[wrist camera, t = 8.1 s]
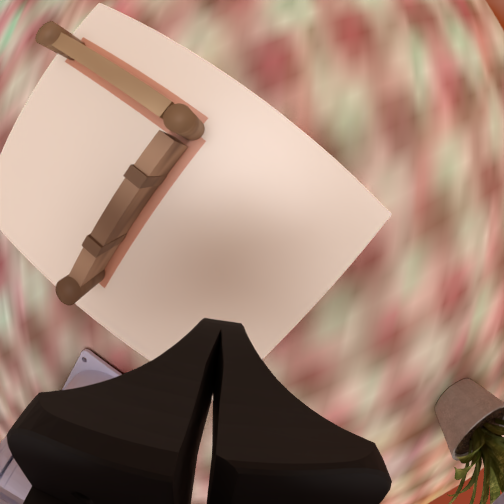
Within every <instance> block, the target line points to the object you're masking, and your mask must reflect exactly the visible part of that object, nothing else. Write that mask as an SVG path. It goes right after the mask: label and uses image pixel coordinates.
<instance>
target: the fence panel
mask: <svg viewBox="0 0 504 504" xmlns="http://www.w3.org/2000/svg"><path fill="white" fill-rule="evenodd" d="M187 148H188V146H186V145H185V144H184V143H183V142H181V141H180V140H179V139H177V138H176V137H174V136H172V135H170V134H167V133H165V132H163V131H161V130H159V131H158V132H157V134H156V135H155V136H154V138H153V139H152V140H151V142H150V143H149V144H148V146H147V147H146V148H145V150H144V151H143V153H142V154H141V155H140V157H139V158H138V160H137V161H136V163H135V164H131V165H130V166H129V168H128V169H127V171H126V172H125V174H124V175H123V176H124V177H125V179H124V180H123V182H122V183H121V185H120V186H119V188H118V189H117V191H116V192H115V194H114V196H113V197H112V199H111V200H110V202H109V204H108V205H107V207H106V208H105V210H104V212H103V213H102V215H101V217H100V218H99V220H98V222H97V224H96V225H95V227H94V229H93V230H92V232H91V234H89V235H87V236H86V238H85V240H84V241H83V243H82V245H81V246H83V249H82V250H81V252H80V254H79V256H78V258H77V260H76V262H75V264H74V266H73V268H72V270H71V272H70V274H69V275H67V276H65V277H64V278H62V279H61V280H59V281H58V282H57V284H56V294H57V296H58V298H59V299H60V301H61V302H63V303H64V304H66V305H73V304H74V303H75V302H77V301H78V300H79V299H80V298H81V297H83V296H84V295H85V294H86V293H87V292H89V291H90V290H91V289H92V288H93V287H95V286H96V285H97V284H98V283H100V282H101V281H102V280H103V279H104V277H105V267H106V266H107V264H108V262H109V261H110V259H111V257H112V256H113V254H114V252H115V251H116V249H117V248H118V246H119V244H120V243H121V242H122V241H123V240H124V238H125V236H126V235H127V232H128V230H129V229H130V227H131V226H132V224H133V223H134V221H135V220H136V218H137V217H138V215H139V214H140V212H141V211H142V209H143V208H144V206H145V205H146V204H147V202H148V201H149V199H150V198H151V196H152V195H153V194H154V192H155V191H156V189H157V188H158V187H159V185H161V184H162V182H163V181H164V180H165V178H166V177H167V174H168V173H169V172H170V170H171V169H172V168H173V166H174V165H175V164H176V162H177V161H178V160H179V158H180V157H181V156H182V154H183V153H184V152H185V151H186V149H187Z"/></svg>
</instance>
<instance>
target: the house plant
mask: <svg viewBox="0 0 504 504" xmlns="http://www.w3.org/2000/svg"><path fill="white" fill-rule="evenodd" d="M435 413H436V415H437V418H438V420H439V423H440V426H441V428H442V431H443V433H444V436H445V439H446V441H447V444H448V447H449V450H450V452H451V455H452V458H453V459H454V460H460V461H461V463H466V466H465V468H464V469H457V468H456V467H454V468H455V479H456V480H459V479H461V478H462V479H461V482H460V485H459V487H458V489H457V491H456V493H455V494H454V495H449V496H454V497H453V499H452V500H451V502H450V503H449V504H451V503H452V502H453V501H454V500H455V499H456V497H457V496H458V494H459V493H462V492H465V491H466V490H468V489H469V488H470V487H471V486H472V485H473V484H474V483H475V484H474V489H473V494H472V498H471V501H470V504H473V502H474V498H475V493H476V487H477V480H478V475H479V472H480V468H481V464H482V460H483V463H484V482H483V491H482V497H481V501H480V504H486V502H487V499H488V495H489V484H490V504H492V503H493V502H494V501H495V500H496V499H497V498H498V497H499V496H500V490H501V491H502V493H503V492H504V437H502V436H501V435H504V402H502V401H501V400H500V399H498V398H497V397H495V396H494V395H493V394H491V393H490V392H488V391H487V390H485V389H484V388H483V387H481V386H480V385H478V384H477V383H476V382H474V381H473V380H471V379H469V378H468V379H463V380H460V381H458V382H457V383H455V384H453V385H452V386H450V387H449V388H448V389H447V390H446V391H445V392H444V393H443V394H442V395H441V397H440V398H439V400H438V402H437V404H436V406H435ZM471 460H472V463H471V466H469V462H470V461H471ZM475 463H476V467H475V470H474V473H473V476H472V478H471V480H470V482H469V484H468V485H467V486H466V487H465V488H464V489H463V490H462V491H461V489H462V486H463V484H464V481H465V478H466V474H467V472H468V471H469V470H470V468H471V467H472V466H473V465H474V464H475ZM468 466H469V467H468ZM460 491H461V492H460Z"/></svg>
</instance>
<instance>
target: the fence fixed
mask: <svg viewBox="0 0 504 504" xmlns="http://www.w3.org/2000/svg"><path fill="white" fill-rule="evenodd" d="M36 42H37V43H39V44H41V45H43V46H44V47H46V48H48V49H50V50H52V51H54V52H56V53H58V54H60V55H62V56H63V57H65V58H67V59H69V60H72V61H73V60H76V61H77V62H79V63H81V64H82V65H84V66H85V67H87V68H88V69H90V70H91V71H93V72H94V73H96V74H98V75H99V76H101V77H102V78H104V79H105V80H107V81H108V82H110V83H111V84H112V85H114V86H115V87H117V88H118V89H120V90H121V91H123V92H124V93H126V94H127V95H129V96H130V97H132V98H133V99H134V100H136V101H137V102H139V103H140V104H142V105H143V106H144V107H146V108H147V109H149V110H150V111H152V112H153V113H154V114H156V115H157V116H159V117H160V118H162V119H163V122H164V125H165V127H166V128H167V129H169V130H170V131H172V132H174V133H176V134H178V135H180V136H182V137H184V138H186V139H187V140H191V141H194V140H197V139H199V138H200V137H202V135H203V134H204V130H205V127H204V124H203V122H202V121H201V120H200V119H199V118H198V117H197V116H196V115H195V114H194V113H193V112H192V111H191V109H190V108H189V107H188V106H186V105H184V104H180V103H178V104H174V103H173V102H172V101H171V100H169V99H168V98H166V97H165V96H163V95H162V94H160V93H159V92H158V91H156V90H155V89H153V88H152V87H150V86H149V85H147V84H146V83H144V82H143V81H141V80H140V79H138V78H136V77H135V76H133V75H132V74H130V73H129V72H127V71H126V70H124V69H122V68H121V67H119V66H118V65H116V64H115V63H113V62H111V61H110V60H108V59H106V58H105V57H103V56H102V55H100V54H98V53H97V52H95V51H93V50H92V49H90V48H88V47H86V46H85V43H84V42H82V41H81V40H80V39H78V38H77V37H75V36H74V35H72V34H71V33H69V32H68V31H66V30H65V29H64V28H62V27H61V26H59V25H58V24H56V23H55V22H53V21H50V22H47V23H45V24H44V25H43V26H42V27H41V28H40V29H39V30H38V32H37V34H36Z"/></svg>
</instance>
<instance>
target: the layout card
mask: <svg viewBox="0 0 504 504" xmlns="http://www.w3.org/2000/svg"><path fill="white" fill-rule="evenodd" d="M72 35H74V36H75V37H77V38H78V39H80V40H81V41H82V42H84V43H85V46H86V47H88V48H90V49H92V50H93V51H95V52H97V53H98V54H100V55H102V56H103V57H105V58H106V59H108V60H110V61H111V62H113V63H115V64H116V65H118V66H119V67H121V68H122V69H124V70H126V71H127V72H129V73H130V74H132V75H133V76H135V77H136V78H138V79H140V80H141V81H143V82H144V83H146V84H147V85H149V86H150V87H152V88H153V89H155V90H156V91H158V92H159V93H160V94H162V95H163V96H165V97H166V98H168V99H169V100H171V101H172V102H173V103H174V104H178V103H180V104H184V105H186V106H188V107H189V108H190V109H191V111H192V112H193V113H194V114H195V115H196V116H197V117H198V118H199V119H200V120H201V121H202V122H203V124H204V127H205V130H204V134H203V135H202V137H200V138H199V139H197V140H194V141H191V140H187V139H186V138H184V137H182V136H180V135H178V134H176V133H174V132H172V131H170V130H169V129H167V128H166V127H165V125H164V122H163V119H162V118H160V117H159V116H157V115H156V114H154V113H153V112H152V111H150V110H149V109H147V108H146V107H144V106H143V105H142V104H140V103H139V102H137V101H136V100H134V99H133V98H132V97H130V96H129V95H127V94H126V93H124V92H123V91H121V90H120V89H118V88H117V87H115V86H114V85H112V84H111V83H110V82H108V81H107V80H105V79H104V78H102V77H101V76H99V75H98V74H96V73H94V72H93V71H91V70H90V69H88V68H87V67H85V66H84V65H82V64H81V63H79V62H77V61H76V60H73V61H72V60H69V59H67V58H65V57H63V56H62V55H60V54H57V55H56V56H55V58H54V59H53V61H52V62H51V64H50V65H49V67H48V68H47V70H46V71H45V73H44V74H43V76H42V77H41V79H40V80H39V82H38V84H37V85H36V87H35V88H34V90H33V92H32V93H31V95H30V97H29V99H28V100H27V102H26V104H25V106H24V107H23V109H22V111H21V113H20V115H19V117H18V119H17V121H16V123H15V124H14V126H13V128H12V130H11V133H10V135H9V137H8V139H7V141H6V143H5V145H4V148H3V150H2V152H1V154H0V230H1V231H2V233H3V234H4V235H5V236H6V237H7V238H8V239H9V240H10V241H11V242H12V243H13V245H14V246H15V247H16V248H17V249H18V250H19V251H20V252H21V253H22V254H23V255H24V256H25V257H26V258H27V259H28V260H29V261H30V262H31V263H32V264H33V265H34V266H35V267H36V268H37V269H38V270H39V271H40V272H41V273H42V274H43V275H44V276H45V277H46V278H47V279H48V280H49V281H51V282H52V283H53V284H54V285H55V286H56V284H57V282H58V281H59V280H61V279H62V278H64V277H65V276H67V275H69V274H70V272H71V270H72V268H73V266H74V264H75V262H76V260H77V258H78V256H79V254H80V252H81V250H82V249H83V246H81V245H82V243H83V241H84V240H85V238H86V236H87V235H89V234H91V232H92V230H93V229H94V227H95V225H96V224H97V222H98V220H99V218H100V217H101V215H102V213H103V212H104V210H105V208H106V207H107V205H108V204H109V202H110V200H111V199H112V197H113V196H114V194H115V192H116V191H117V189H118V188H119V186H120V185H121V183H122V182H123V180H124V179H125V177H124V176H123V175H124V174H125V172H126V171H127V169H128V168H129V166H130V165H131V164H135V163H136V161H137V160H138V158H139V157H140V155H141V154H142V153H143V151H144V150H145V148H146V147H147V146H148V144H149V143H150V142H151V140H152V139H153V138H154V136H155V135H156V134H157V132H158V131H159V130H161V131H163V132H165V133H167V134H170V135H172V136H174V137H176V138H177V139H179V140H180V141H181V142H183V143H184V144H185V145H186V146H188V148H187V149H186V151H185V152H184V153H183V154H182V156H181V157H180V158H179V160H178V161H177V162H176V164H175V165H174V166H173V168H172V169H171V170H170V172H169V173H168V174H167V177H166V178H165V180H164V181H163V182H162V184H161V185H159V187H158V188H157V189H156V191H155V192H154V194H153V195H152V196H151V198H150V199H149V201H148V202H147V204H146V205H145V206H144V208H143V209H142V211H141V212H140V214H139V215H138V217H137V218H136V220H135V221H134V223H133V224H132V226H131V227H130V229H129V230H128V232H127V235H126V236H125V238H124V240H123V241H122V242H121V243H120V244H119V246H118V248H117V249H116V251H115V252H114V254H113V256H112V257H111V259H110V261H109V262H108V264H107V266H106V267H105V277H104V279H103V280H102V281H101V282H100V283H98V284H97V285H96V286H95V287H93V288H92V289H91V290H90V291H89V292H87V293H86V294H85V295H84V296H83V297H81V298H80V299H79V300H78V301H77V302H75V304H76V305H77V306H79V307H80V308H81V309H82V310H83V311H85V312H86V313H87V314H88V315H89V316H91V317H92V318H93V319H94V320H96V321H97V322H98V323H99V324H101V325H102V326H103V327H104V328H106V329H107V330H108V331H109V332H111V333H112V334H113V335H115V336H116V337H117V338H119V339H120V340H121V341H123V342H124V343H125V344H127V345H128V346H129V347H131V348H132V349H134V350H135V351H136V352H138V353H139V354H141V355H142V356H143V357H145V358H146V359H148V360H149V361H152V360H153V359H155V358H157V357H158V356H160V355H161V354H162V353H164V352H165V351H167V350H168V349H169V348H171V347H172V346H173V345H175V344H176V343H177V342H178V341H180V340H181V339H182V338H183V337H184V336H185V335H187V334H188V333H189V332H190V331H191V330H192V329H193V328H194V327H195V326H196V325H197V324H198V323H199V322H200V321H201V320H202V319H203V318H209V319H215V320H222V321H229V322H236V323H242V325H243V326H244V328H245V331H246V333H247V335H248V337H249V339H250V341H251V343H252V345H253V346H254V348H255V350H256V351H257V353H258V354H259V356H260V358H261V359H263V358H264V357H265V356H266V355H267V354H268V353H269V352H270V351H271V350H272V349H273V348H274V347H275V346H276V345H277V344H278V343H279V342H280V341H281V340H282V339H283V338H284V337H285V336H286V335H287V334H288V333H289V332H290V331H291V330H292V329H293V328H294V327H295V326H296V325H297V324H298V323H299V322H300V321H301V319H302V318H303V317H304V316H305V315H306V314H307V313H308V312H309V311H310V310H311V309H312V308H313V307H314V305H315V304H316V303H317V302H318V301H319V300H320V299H321V298H322V297H323V296H324V295H325V293H326V292H327V291H328V290H329V289H330V288H331V287H332V286H333V284H334V283H335V282H336V281H337V280H338V279H339V278H340V276H341V275H342V274H343V273H344V272H345V271H346V270H347V268H348V267H349V266H350V265H351V264H352V263H353V261H354V260H355V259H356V258H357V257H358V255H359V254H360V253H361V252H362V251H363V250H364V248H365V247H366V246H367V245H368V243H369V242H370V241H371V240H372V239H373V237H374V236H375V235H376V234H377V232H378V231H379V230H380V229H381V227H382V226H383V225H384V224H385V222H386V221H387V220H388V219H389V217H390V216H391V215H392V214H391V212H390V211H389V210H388V209H387V208H386V207H385V206H384V205H383V204H382V203H381V202H380V201H379V200H378V199H377V198H376V197H375V196H374V195H373V194H372V193H371V192H370V191H369V190H368V189H367V188H366V187H365V186H364V185H363V184H362V183H361V182H359V181H358V180H357V179H356V178H355V177H354V176H353V175H352V174H351V173H350V172H349V171H348V170H347V169H346V168H345V167H343V166H342V165H341V164H340V163H339V162H338V161H337V160H336V159H335V158H334V157H332V156H331V155H330V154H329V153H328V152H327V151H326V150H324V149H323V148H322V147H321V146H320V145H319V144H318V143H316V142H315V141H314V140H313V139H312V138H311V137H309V136H308V135H307V134H306V133H305V132H303V131H302V130H301V129H300V128H298V127H297V126H296V125H295V124H294V123H292V122H291V121H290V120H289V119H287V118H286V117H285V116H284V115H282V114H281V113H280V112H278V111H277V110H276V109H275V108H273V107H272V106H271V105H269V104H268V103H267V102H265V101H264V100H263V99H261V98H260V97H259V96H257V95H256V94H255V93H253V92H252V91H250V90H249V89H248V88H246V87H245V86H243V85H242V84H241V83H239V82H238V81H236V80H235V79H233V78H232V77H230V76H229V75H228V74H226V73H225V72H223V71H222V70H220V69H219V68H217V67H216V66H214V65H213V64H211V63H209V62H208V61H206V60H205V59H203V58H202V57H200V56H198V55H197V54H195V53H194V52H192V51H190V50H189V49H187V48H185V47H184V46H182V45H180V44H179V43H177V42H175V41H173V40H172V39H170V38H168V37H167V36H165V35H163V34H161V33H159V32H158V31H156V30H154V29H152V28H150V27H148V26H146V25H145V24H143V23H141V22H139V21H137V20H135V19H133V18H131V17H129V16H127V15H125V14H123V13H121V12H119V11H116V10H114V9H112V8H110V7H108V6H106V5H103V4H101V3H98V5H97V6H96V7H95V8H94V9H93V10H92V11H91V12H90V13H89V15H88V16H87V17H86V18H85V19H84V20H83V22H82V23H81V24H80V25H79V26H78V28H77V29H76V30H75V31H74V33H73V34H72ZM212 400H213V396H212Z"/></svg>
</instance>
